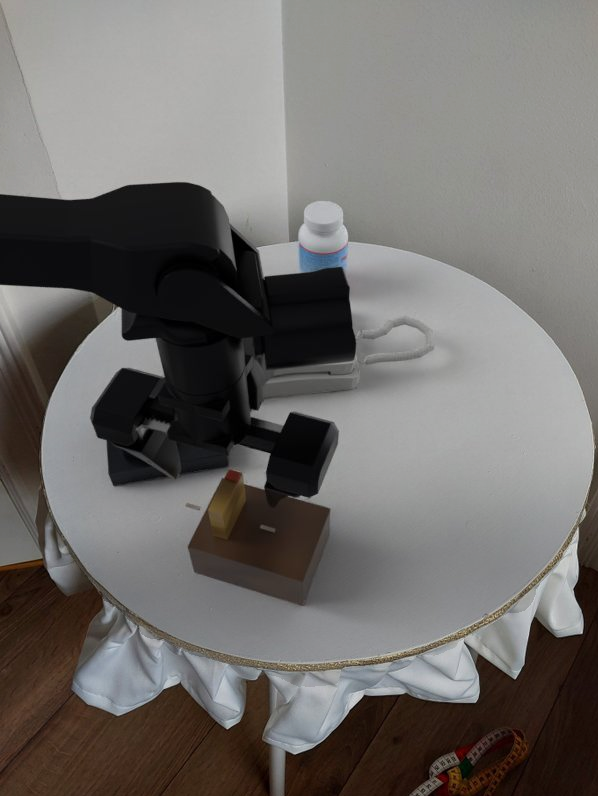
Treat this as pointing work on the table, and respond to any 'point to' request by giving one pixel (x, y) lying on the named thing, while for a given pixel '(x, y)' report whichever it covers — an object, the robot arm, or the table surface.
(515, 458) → the table surface
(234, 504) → the block
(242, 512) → the brown box with slot
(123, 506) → the table surface
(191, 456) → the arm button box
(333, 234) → the pill bottle
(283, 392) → the intercom
